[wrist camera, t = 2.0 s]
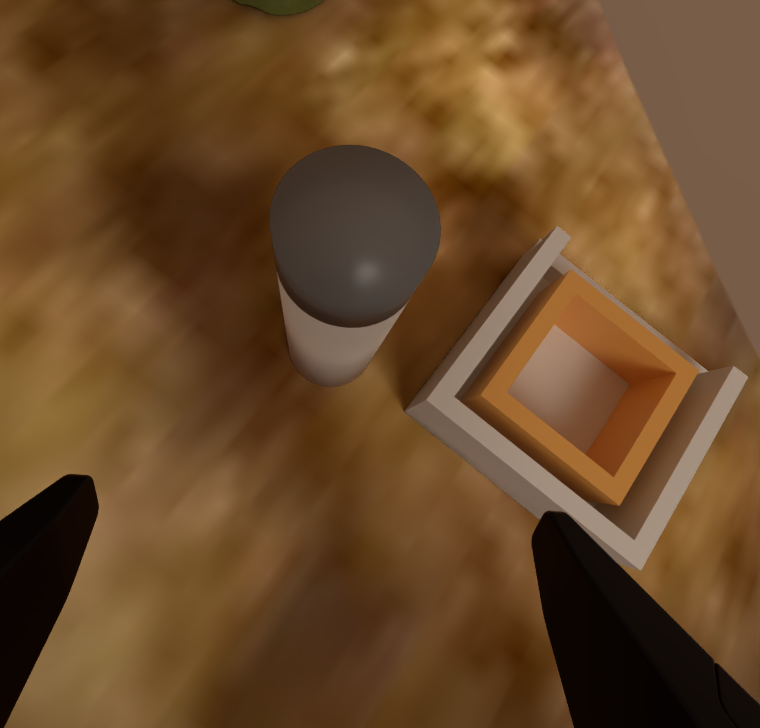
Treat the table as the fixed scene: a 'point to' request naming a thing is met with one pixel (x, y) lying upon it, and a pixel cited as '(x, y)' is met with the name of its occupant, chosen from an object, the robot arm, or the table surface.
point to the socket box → (577, 404)
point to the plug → (348, 255)
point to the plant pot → (282, 5)
